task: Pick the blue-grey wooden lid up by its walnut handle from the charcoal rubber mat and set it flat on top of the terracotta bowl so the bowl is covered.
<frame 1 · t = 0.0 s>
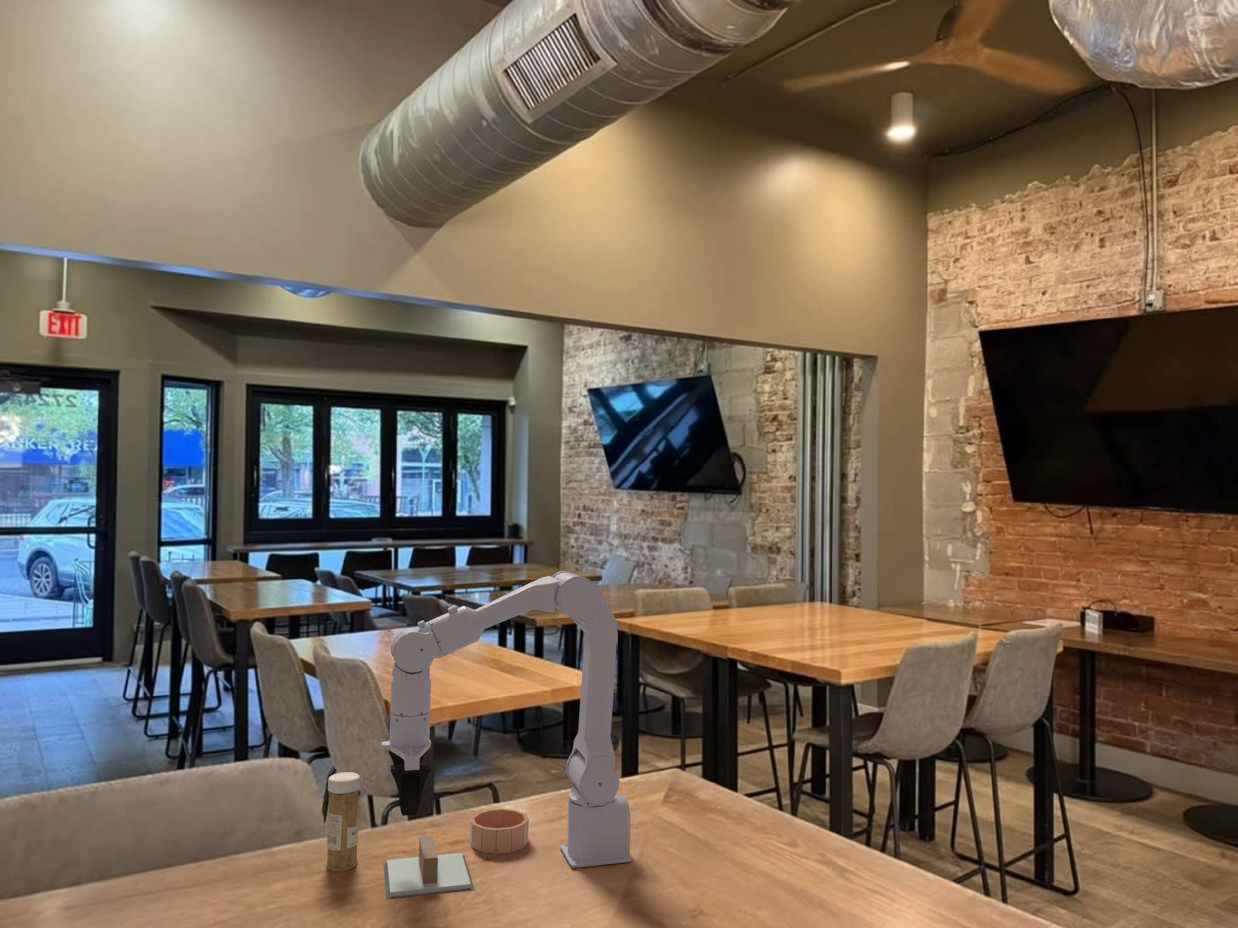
hand: (407, 804, 130), 10 cm above the table, tool pointing down, fingers open, 7 cm apart
bowl: (498, 843, 141), on the table
mat: (427, 878, 128), on the table
sprinkles bottle: (341, 868, 131), on the table
lid: (427, 875, 128), resting on mat
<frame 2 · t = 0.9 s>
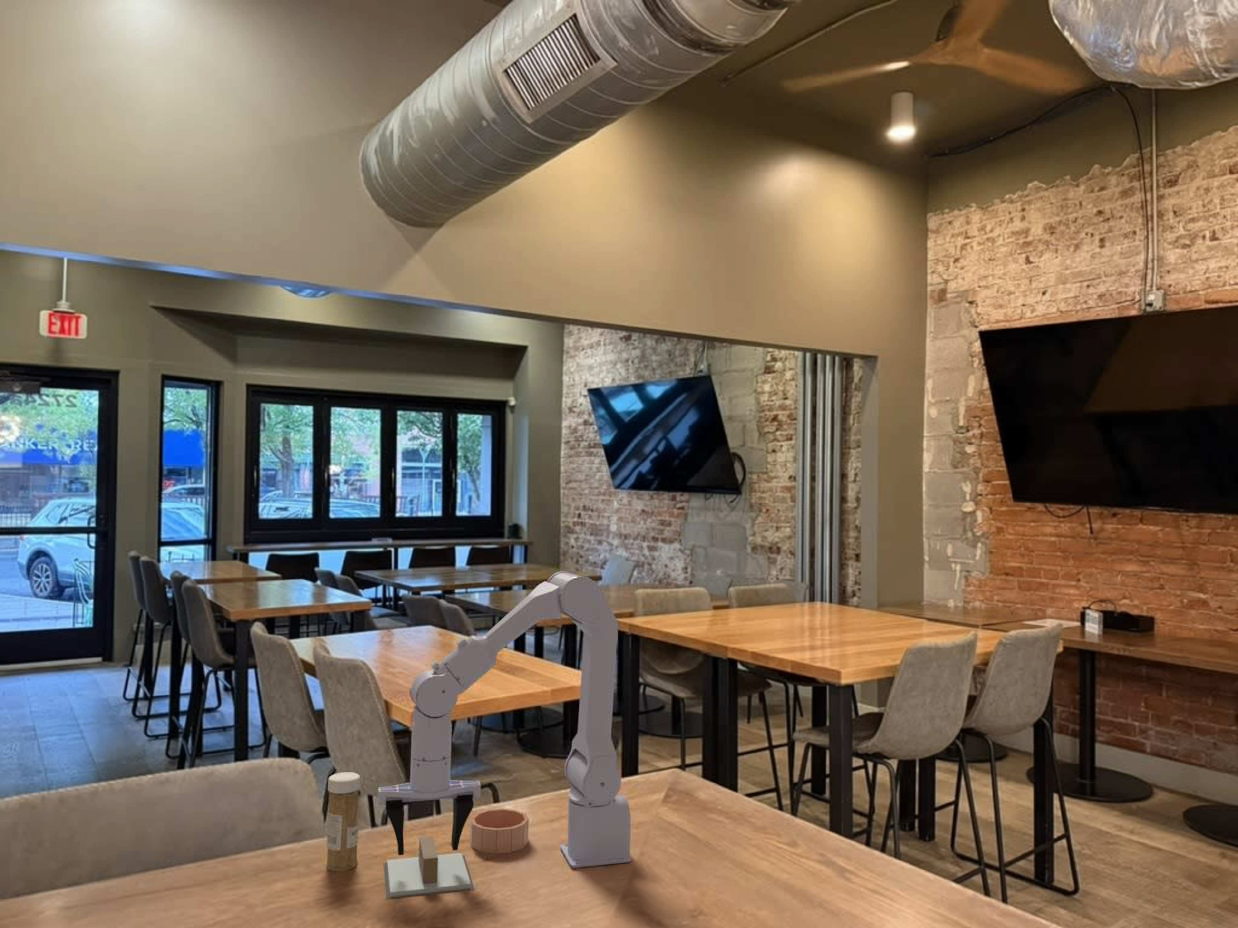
hand: (427, 849, 128), 4 cm above the table, tool pointing down, fingers open, 7 cm apart
nothing on the table moved.
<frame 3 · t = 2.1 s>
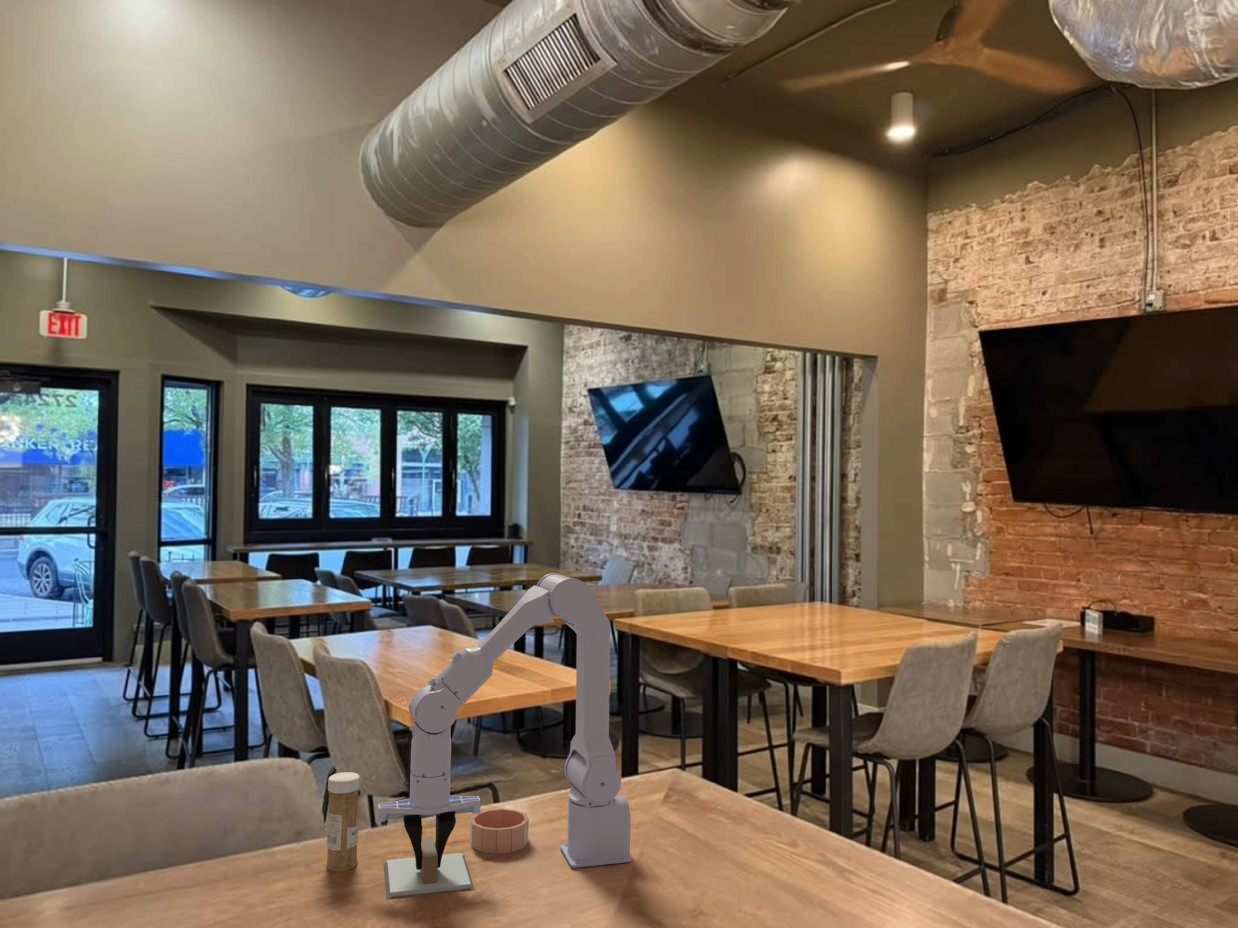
hand: (427, 865, 128), 2 cm above the table, tool pointing down, fingers closed on lid, 2 cm apart
lid: (427, 875, 128), resting on mat, touching gripper
everything else where it was.
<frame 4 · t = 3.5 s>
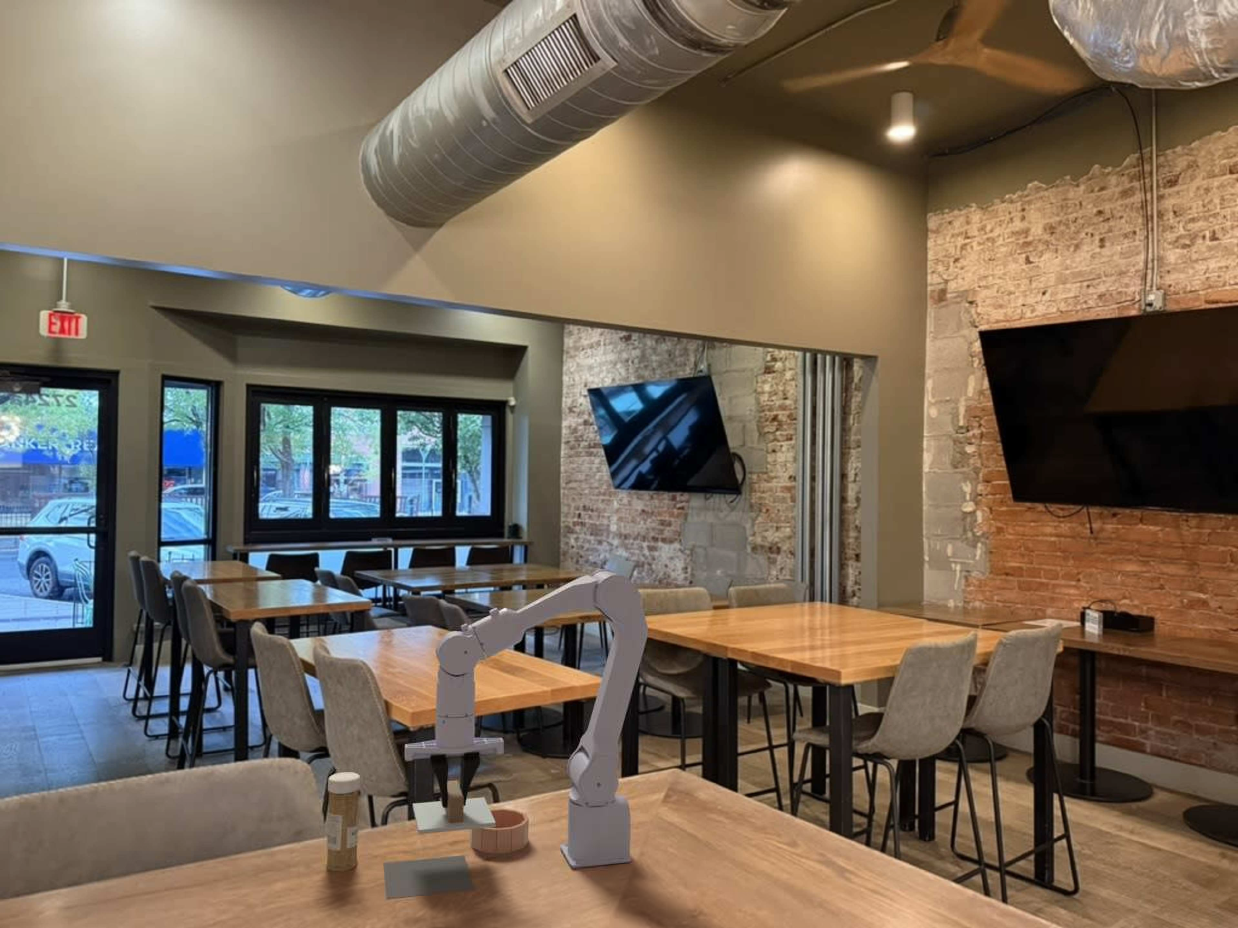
hand: (453, 804, 132), 9 cm above the table, tool pointing down, fingers closed on lid
lid: (453, 816, 132), point 7 cm above the table, touching gripper
everything else where it was.
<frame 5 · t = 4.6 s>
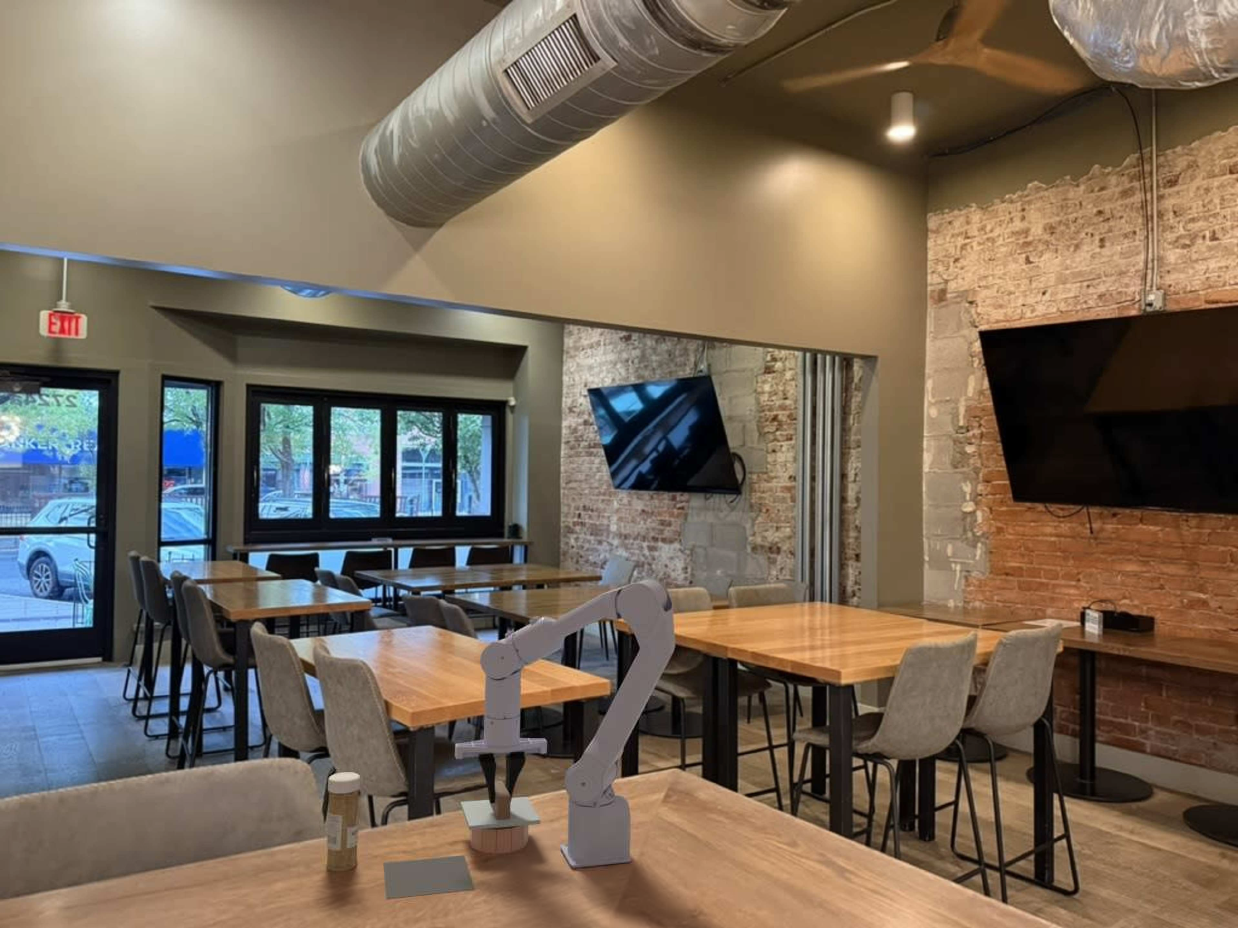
hand: (499, 800, 141), 7 cm above the table, tool pointing down, fingers closed on lid, 2 cm apart
lid: (499, 814, 141), point 5 cm above the table, touching gripper
everything else where it was.
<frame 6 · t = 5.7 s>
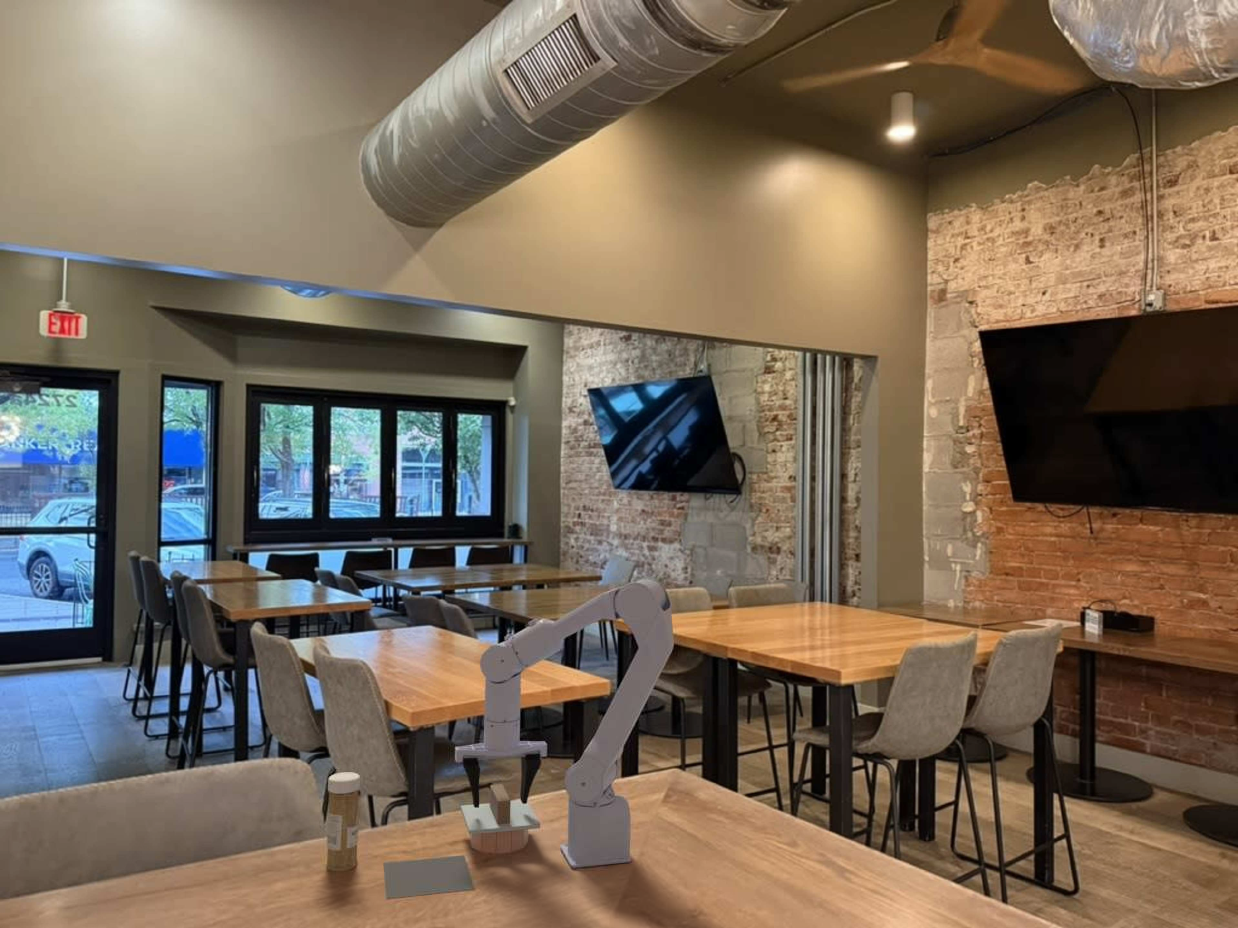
hand: (500, 803, 141), 6 cm above the table, tool pointing down, fingers open, 7 cm apart
lid: (499, 818, 141), point 4 cm above the table, touching bowl
everything else where it was.
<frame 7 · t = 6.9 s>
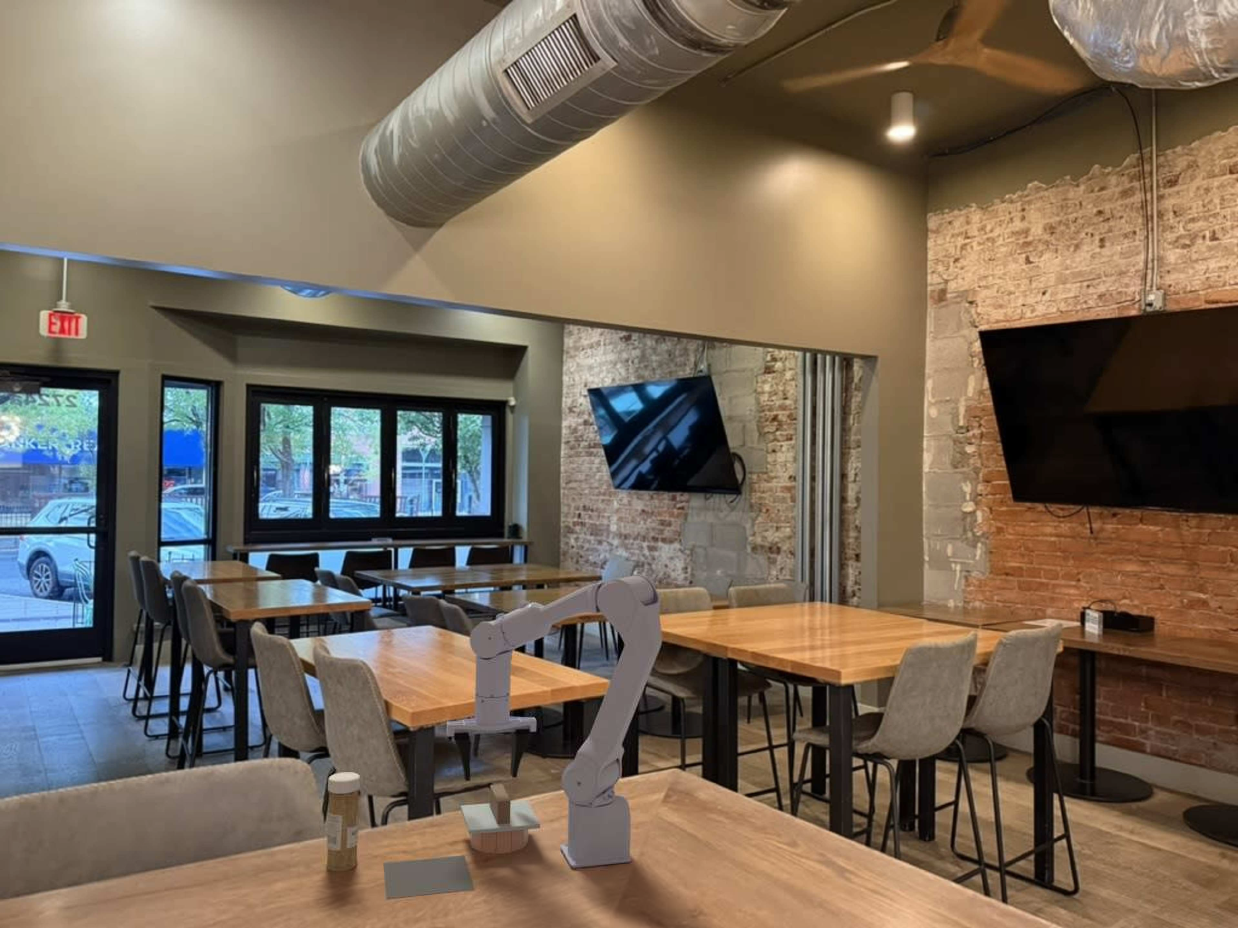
hand: (490, 777, 145), 9 cm above the table, tool pointing down, fingers open, 7 cm apart
nothing on the table moved.
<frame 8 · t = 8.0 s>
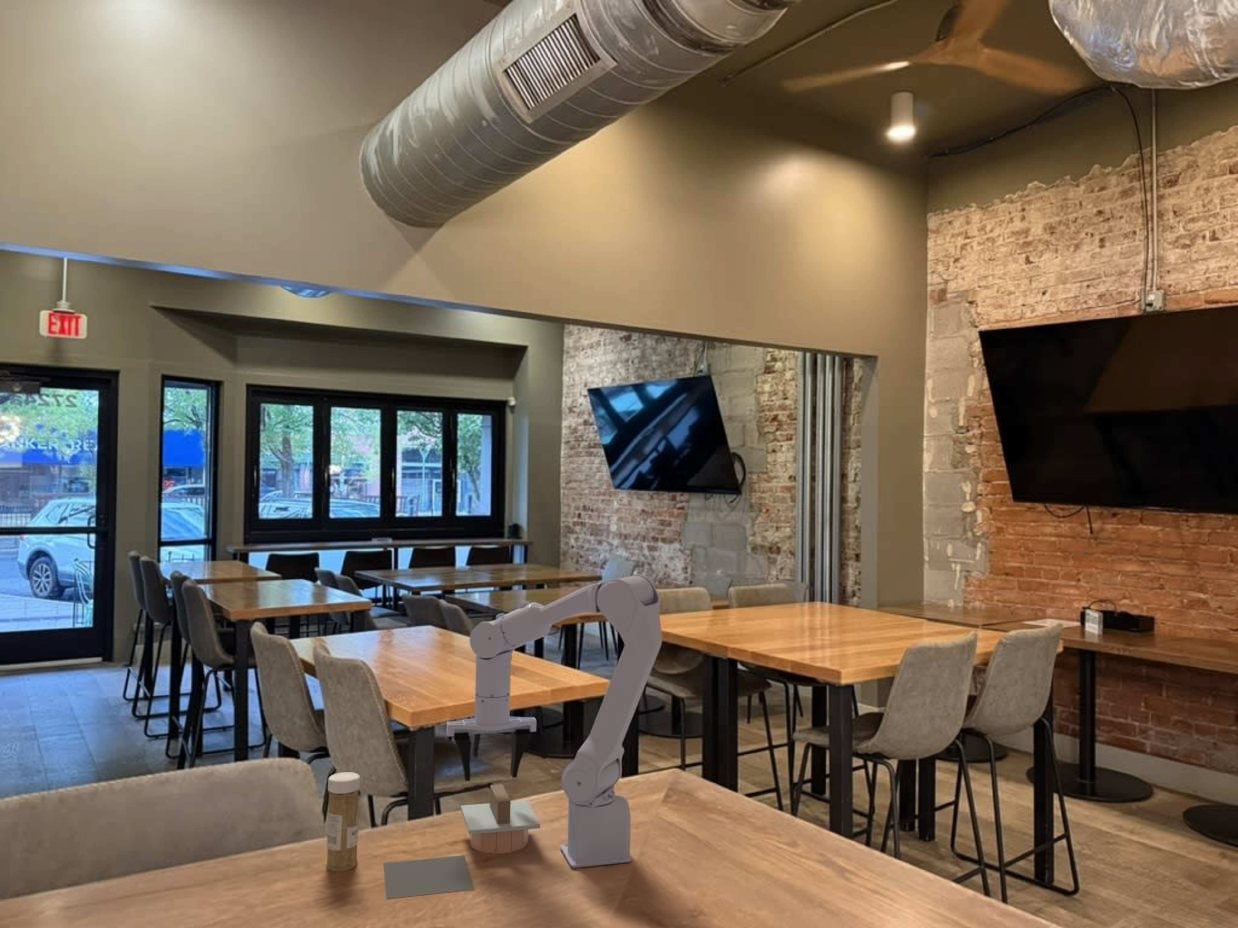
hand: (490, 777, 145), 9 cm above the table, tool pointing down, fingers open, 7 cm apart
nothing on the table moved.
at the end: lid 0.2 cm off-centre on the bowl, point 4.0 cm above the bowl's base; lid tilted 0°; the gripper is holding nothing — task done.
